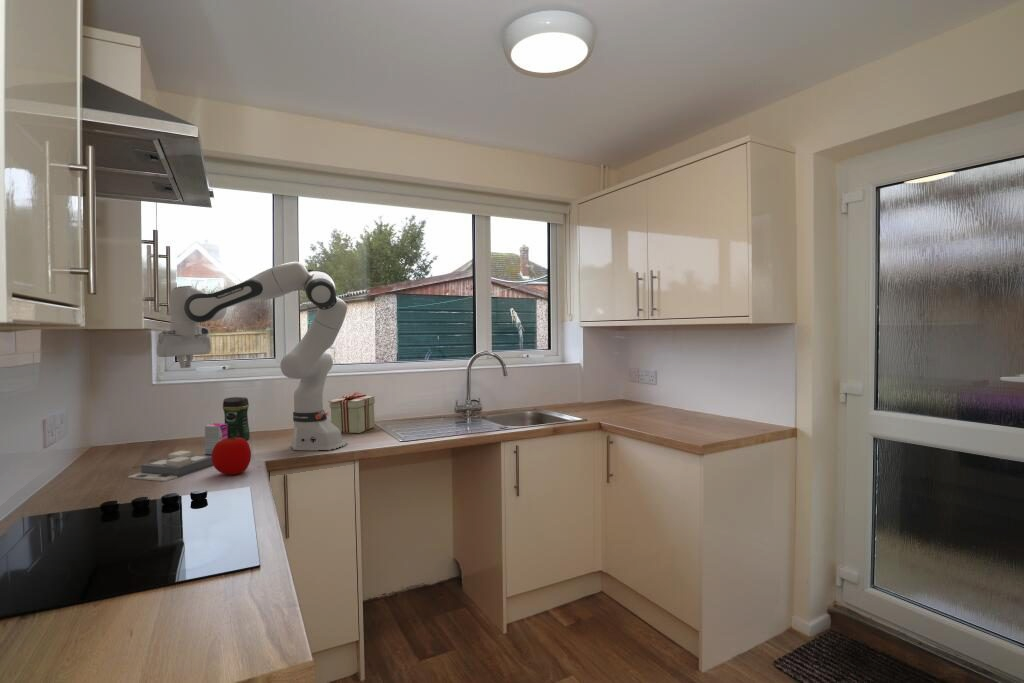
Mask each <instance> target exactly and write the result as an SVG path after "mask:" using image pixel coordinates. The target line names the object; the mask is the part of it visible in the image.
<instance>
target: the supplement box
mask: <svg viewBox="0 0 1024 683" xmlns="http://www.w3.org/2000/svg"><path fill="white" fill-rule="evenodd" d="M227 438H228V424H225V423H221V422H219V423H217V422H214V423H210V424H207V425H204V455H207V456H212V451H213V449H214V446H215V445H216V444H217V443H218V442H219V441H221V440H224V439H227Z"/></svg>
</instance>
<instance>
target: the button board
mask: <svg viewBox="0 0 1024 683" xmlns="http://www.w3.org/2000/svg"><path fill="white" fill-rule="evenodd" d="M195 456H203V457H208V458H205V459H201V460H198V461H191V463H189V464H186V465H182V466H179V467H175V466H166V464H164V465H152V464H150V463H154V462H157V461H161V460H170V459H168V456H167V457H165V458H160V459H157V460H154V461H153V460H152V461H151V462H147V463H146V462H145V463H143V464H141V465H140V472H137V473H135V474H132V475H128V476H127V478H128V479H135V480H148V481H154V482H155V481H157V482H168V481H171V480H175V479H176V478H180V477H183V476H186V475H190V474H193V473H195V472H198V471H201V470H204V469H208V468H210V467H214V465H213V463H212V456H207V455H205V454H204V455H203V454H194V453H192V456H191V457H195ZM191 457H188V458H191Z"/></svg>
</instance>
